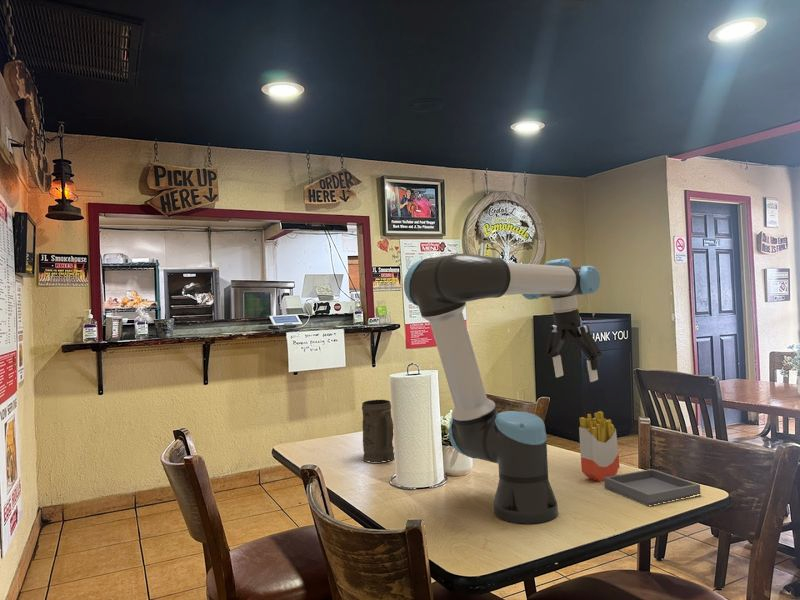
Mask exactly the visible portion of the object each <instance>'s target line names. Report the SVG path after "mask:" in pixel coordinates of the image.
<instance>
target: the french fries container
mask: <svg viewBox="0 0 800 600" xmlns="http://www.w3.org/2000/svg"><path fill="white" fill-rule="evenodd" d="M593 416H594V417H593V418H592V414H591V413H587V415H586V417H587V418H586V417H583V416H582V417H581V416H580V417H579V427H578V431H579V432H578V434H579V449H580V452H579V453H580V463H581V464H580V465H581V472H582V473H583V475H584V476H586V478H588V479H589V480H590V479H591V480H593V481H597V482H604V477H609V476H615V475H616V474H617V472H618V471H619V469H620V455H619V445H618V436H617V429H616V428H615V426H614V424H613V423H612V419H607V418H604V412H603V411H601V410H599V411H597V412H594V413H593Z"/></svg>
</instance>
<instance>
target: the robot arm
mask: <svg viewBox="0 0 800 600" xmlns="http://www.w3.org/2000/svg"><path fill="white" fill-rule="evenodd" d="M600 275H601V274H600V272H599V271H598V268H596V267H595V266H593V265H580V266H572V261H571V260H570V259H569V258H567V257H566V258H557V259H552V260H547V261H546V262H545V264H537V263H536V264H535V263H534V264H533V263H521V262H520V263H518V262H507V261H506V260H505V259H503V258H501V257H495V256H486V255H485V256H484V255H480V254H479V255H478V254H469V253H453V254H448V255H442V256H440V255H439V256H435V257H428V258H423V259H421V260H418V261H416V262H413V263H412V264H411V265H410V267H409V268H408V270H407V271H406V274H405V276H404V280H403V291H404V295H405V296H406V298H407V300H408V301H409V302H410V303H412V304H413V305H415V306H416V307H418V308H419V313H420V315H421V319H425V320H426V321H428V322H429V325H430V327H431V332H432V335H433V338H434V341H435V345H436V347H437V352H438V355H439V359H440V361H441V364H442V368H443V371H444V374H445V378H446V381H447V385H448V388H449V391H450V394H451V398H452V401H453V404H454V408H453V410H452V412H451V419H450V421H449V425H450V426H449V427H448V429H447V431H448V439H449V441H450V443H451V445H452V447H453V448H454V449H455V451H456V452H457V453H459V454H462V455H463V456H466V457H468V458H471V459H478V460H483V461H486V462H491V463H494V464H498V478H499V479H498V483H497V487H496V491H495V495H494V499H493V502H492V503H493V505H492V506H493V514H494V515H495V516H496V518H499V519H500V520H503V521H506V522H511V523H516V524H539V523H545V522H548V521H551V520H554V519H555V518H556V517H557V516H558V515H559V512H558V511H559V510H558V509H559V505H558V501H557V499H556V498H557V497H555V493H554V491H553V489H552V486H551V484H550V481H549V480H550V479H549V470H548V469H549V468H548V467H549V465H548V464H549V463H548V446H547V445H548V444H547V439H548V436H547V432H546V426H545V422H544V420H543V418H541V417H539V416H538V415H536V414H534V413H532V412H531V413H530V412H527V411H517V410H506V411H501V412H499V413H498V409H497V407H496V406H497V405H496V402H494V400H492V399H490V398H488V397H487V394H486V393H487V392H486V390H485V387H484V386H485V385H484V383H483V379H482V375H481V372H480V369H479V366H478V363H477V359H476V356H475V352H474V349H473V345H472V342H471V339H470V335H469V332H468V327H467V323H466V321H465V317H464V314H463V310H464V309H465V307H466V305H467V302H468V303H469V302H472V301H476V300H484V299H492V298H494V299H497V298H498V299H499V298H501V297H503V296H504V295H505V294H506V295H509V294H510V295H511V294H512V295H515V294H516V295H522V297H523V298H525V299H526V300H531V301H532V300H538V299H539V298H547V297H549V298H550V305H551V310H552V311H553V313H552V316H553V317H552V318H553V320H554V321H553V322H554V324H553V325H549V326H548V332H549V333H548V336H547V337H548V338H547V342H546V348H545V354H546V355H548V356H550V357H551V362H552V363H551V364H552V367H553V368H554V373H555V378H560V377H562V376H564V370H563V369H564V368H563V363H562V356H561V354H560V351H561V349H562V348H563V345H564V343H565V342H566V341H569V342H573V343H575V344H576V345H577V346H578V347H579V349H580V350H581V351H582V352H583V353H584V355H585V357H587V359H586V364H587V370H588V376H589V377H588V378H589V383H594V382H595V381H598V380H599V376H598V369H599V366H598V358H601V357H602V356H603V354H602V351H601V350H600V348H599V346H598V344H597V342H596V341H595V339H594V337H593V335H592V333H591V331H590V330H591V329H590V326H589V325H588V324H586V325H583V326H581V325H580V321H581V318H580V310H579V309H578V305H579V304H578V298H577V295H581V296H582V295H589V294H595V293H596V292H597V291H598V290H599V288H600V286H601V276H600Z"/></svg>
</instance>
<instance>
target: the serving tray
mask: <svg viewBox="0 0 800 600" xmlns="http://www.w3.org/2000/svg"><path fill="white" fill-rule="evenodd" d="M603 482H604V483H603V484H604V489H606V490H609V491H611V492H613V491H614V492H613V493H615V492H616V494H618V495H620V494H621V495H620V496H623V497H625V496H626V497H625V498H627V497H628V499H630V498H631V500H632V499H633V501H635V500H636V501H635V502H637V501H638V502H637V503H639V502H641V503H640V504H642V503H644V504H646V505H654V504H658V503H663V502H668V501H672V500H676V499H681V498H686V497H690V496H693V495H697V494H701V485H700V484H699V483H696V482H693V481H690V480H687V479H684V478H681V477H677V476H675V475H672V474H669V473H666V472H663V471H660V470H657V469H655V468H654V469H653V468H649V469H645V470H638V471H633V472H627V473H620V474H617V475H616V474H615V476H609V477H604V481H603ZM701 495H702V494H701ZM644 504H643V505H644ZM646 505H645V506H646Z"/></svg>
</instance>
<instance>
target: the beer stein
mask: <svg viewBox="0 0 800 600" xmlns="http://www.w3.org/2000/svg"><path fill="white" fill-rule="evenodd" d="M361 411H362V449H363V458H362V459H364V460H366V461H370V462H382V461H388V460H392V459H394V455H395V451H394V449H395V448H394V446H393V440H394V433H393V429H394V422H393V417H392V405H391V401H390V400H388V399H387V400H386V399H372V400H366V401H364V402H362V405H361ZM364 460H363V461H364ZM394 460H395V459H394ZM392 461H393V460H392Z"/></svg>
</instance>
